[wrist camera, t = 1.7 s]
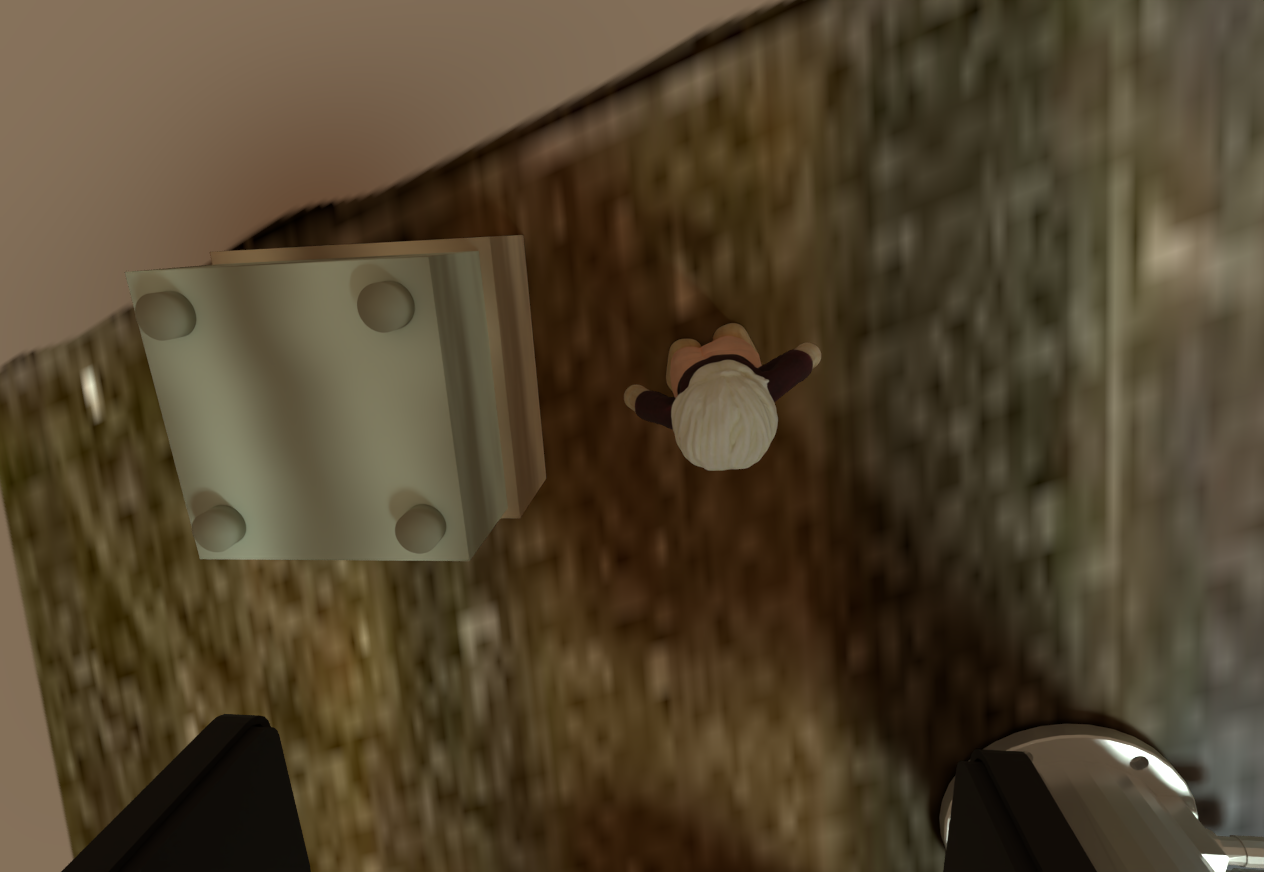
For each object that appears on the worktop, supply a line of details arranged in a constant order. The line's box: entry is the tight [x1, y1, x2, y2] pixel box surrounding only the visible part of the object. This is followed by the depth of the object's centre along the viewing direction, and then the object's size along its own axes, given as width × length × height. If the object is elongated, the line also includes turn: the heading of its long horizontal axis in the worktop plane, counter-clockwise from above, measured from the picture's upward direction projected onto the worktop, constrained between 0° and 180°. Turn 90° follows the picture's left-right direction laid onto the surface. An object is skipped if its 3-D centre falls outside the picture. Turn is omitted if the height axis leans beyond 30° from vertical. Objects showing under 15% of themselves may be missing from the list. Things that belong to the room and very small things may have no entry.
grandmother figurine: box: [624, 323, 821, 471], centre depth 26 cm, size 8×4×13 cm, turn 118°
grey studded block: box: [125, 235, 546, 561], centre depth 29 cm, size 12×12×11 cm
